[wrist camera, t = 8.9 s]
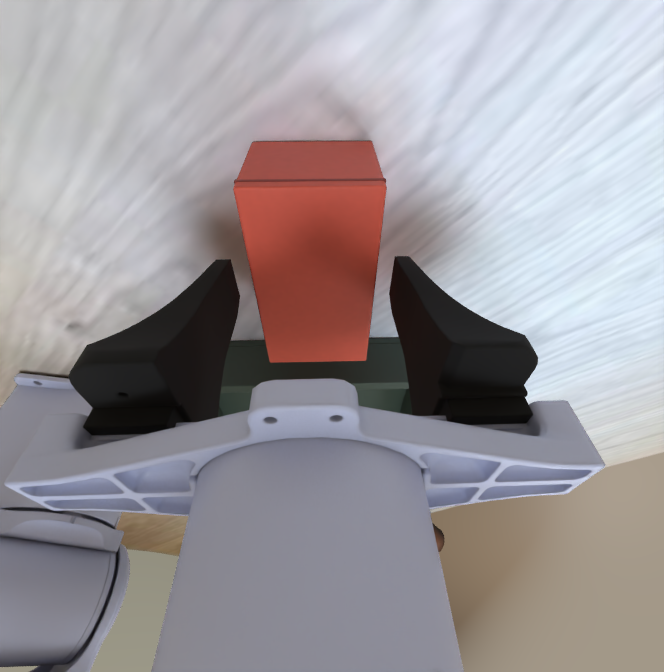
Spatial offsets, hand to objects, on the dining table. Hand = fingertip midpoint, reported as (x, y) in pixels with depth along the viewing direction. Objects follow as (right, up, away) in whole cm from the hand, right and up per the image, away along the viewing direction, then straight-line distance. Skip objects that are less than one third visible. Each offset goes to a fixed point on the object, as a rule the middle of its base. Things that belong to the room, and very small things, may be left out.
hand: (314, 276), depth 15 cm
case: (0, +2, +2) cm, 3 cm away
